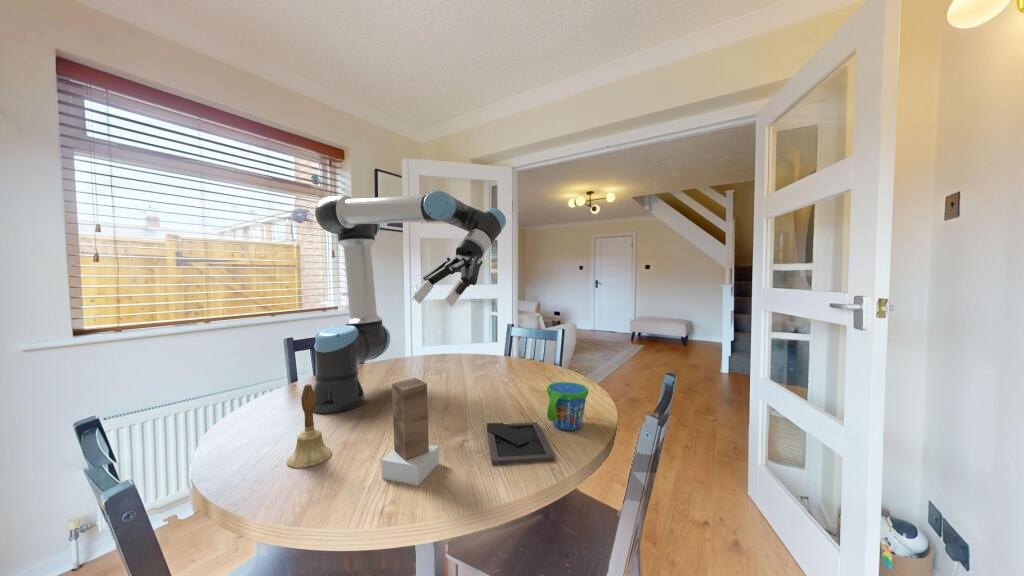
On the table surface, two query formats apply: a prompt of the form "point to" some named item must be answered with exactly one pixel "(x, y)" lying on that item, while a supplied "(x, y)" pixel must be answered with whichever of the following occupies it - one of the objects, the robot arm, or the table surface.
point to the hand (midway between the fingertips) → (431, 301)
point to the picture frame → (517, 443)
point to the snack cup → (566, 404)
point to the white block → (409, 466)
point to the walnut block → (410, 418)
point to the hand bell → (309, 437)
